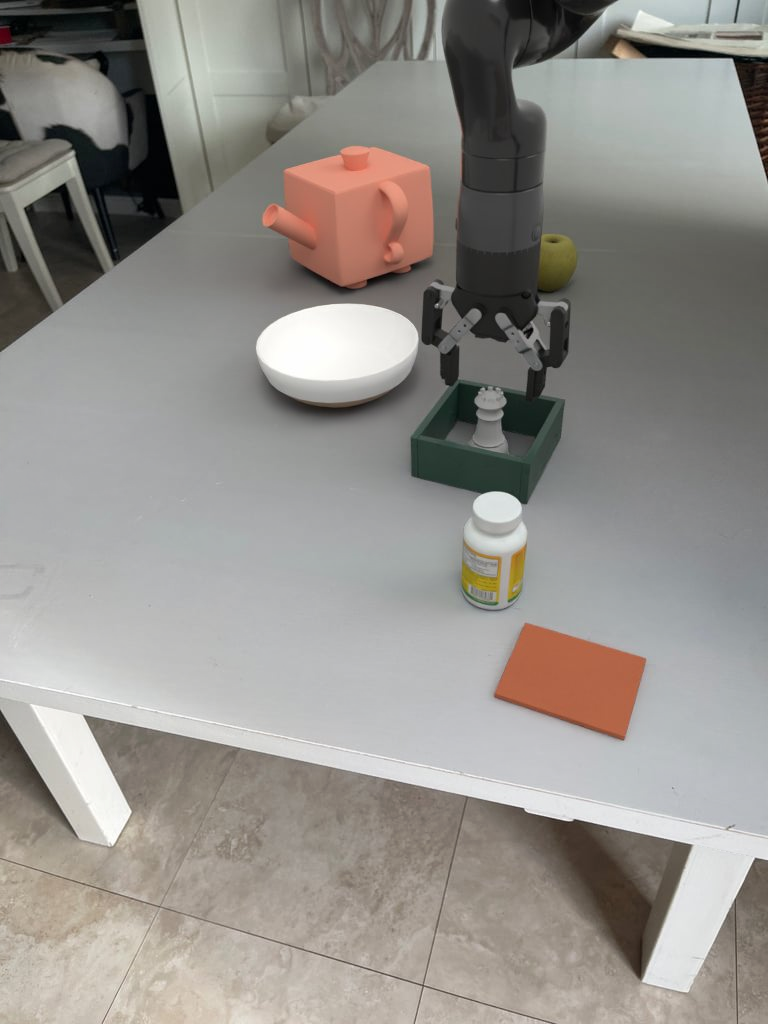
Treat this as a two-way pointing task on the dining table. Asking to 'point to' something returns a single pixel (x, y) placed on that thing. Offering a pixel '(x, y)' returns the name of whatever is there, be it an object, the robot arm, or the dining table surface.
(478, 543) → the supplement bottle
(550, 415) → the holder
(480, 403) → the rook chess piece
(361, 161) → the teapot
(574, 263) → the apple
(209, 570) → the dining table surface
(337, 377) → the bowl
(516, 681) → the mat
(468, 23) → the robot arm
